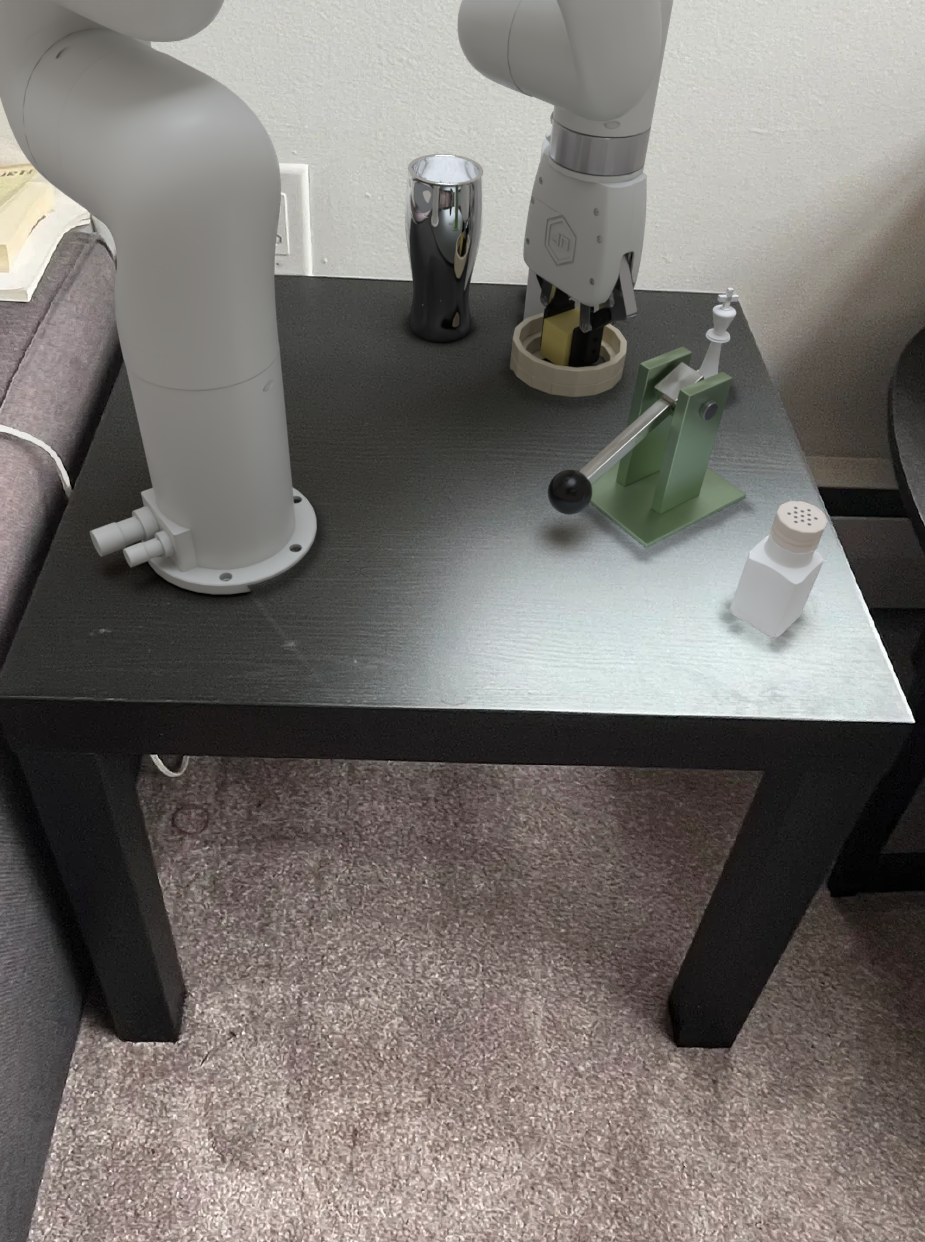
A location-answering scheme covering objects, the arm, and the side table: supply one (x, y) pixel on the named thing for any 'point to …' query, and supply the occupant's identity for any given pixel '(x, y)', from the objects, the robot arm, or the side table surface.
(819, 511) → the pepper shaker
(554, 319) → the butter
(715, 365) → the chess piece
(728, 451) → the side table surface
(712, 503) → the green lever stand
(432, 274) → the beer glass
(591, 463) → the lever
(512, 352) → the beige bottomless ring
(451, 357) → the side table surface
